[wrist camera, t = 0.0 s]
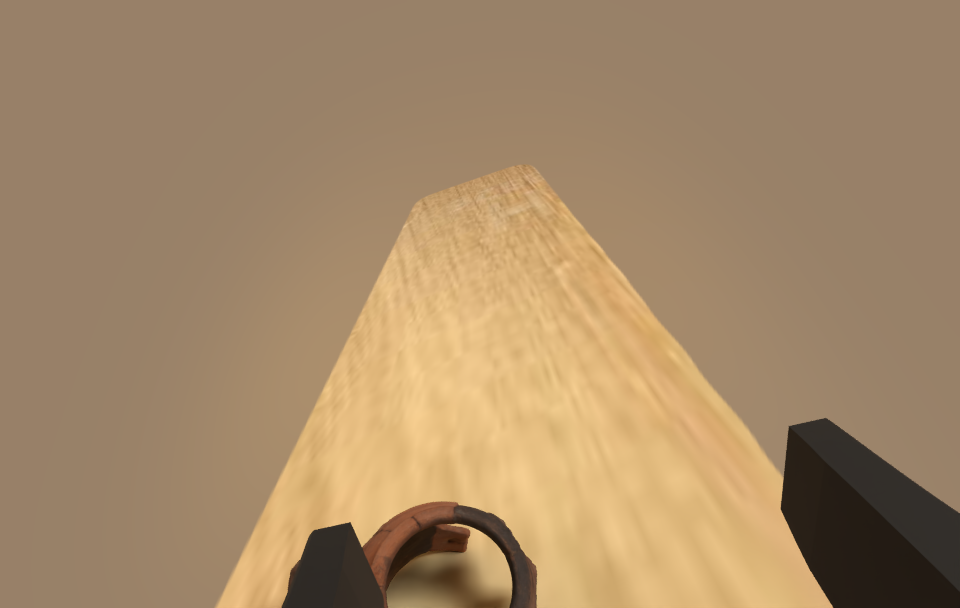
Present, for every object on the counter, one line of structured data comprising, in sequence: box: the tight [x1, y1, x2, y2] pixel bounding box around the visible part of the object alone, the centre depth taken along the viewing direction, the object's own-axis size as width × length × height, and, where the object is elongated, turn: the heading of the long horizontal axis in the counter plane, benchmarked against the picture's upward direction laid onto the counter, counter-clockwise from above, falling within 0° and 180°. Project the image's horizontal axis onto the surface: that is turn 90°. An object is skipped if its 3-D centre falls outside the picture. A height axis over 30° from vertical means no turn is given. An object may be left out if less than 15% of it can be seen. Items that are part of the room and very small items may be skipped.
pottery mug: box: [288, 502, 537, 608], centre depth 33 cm, size 12×9×8 cm
